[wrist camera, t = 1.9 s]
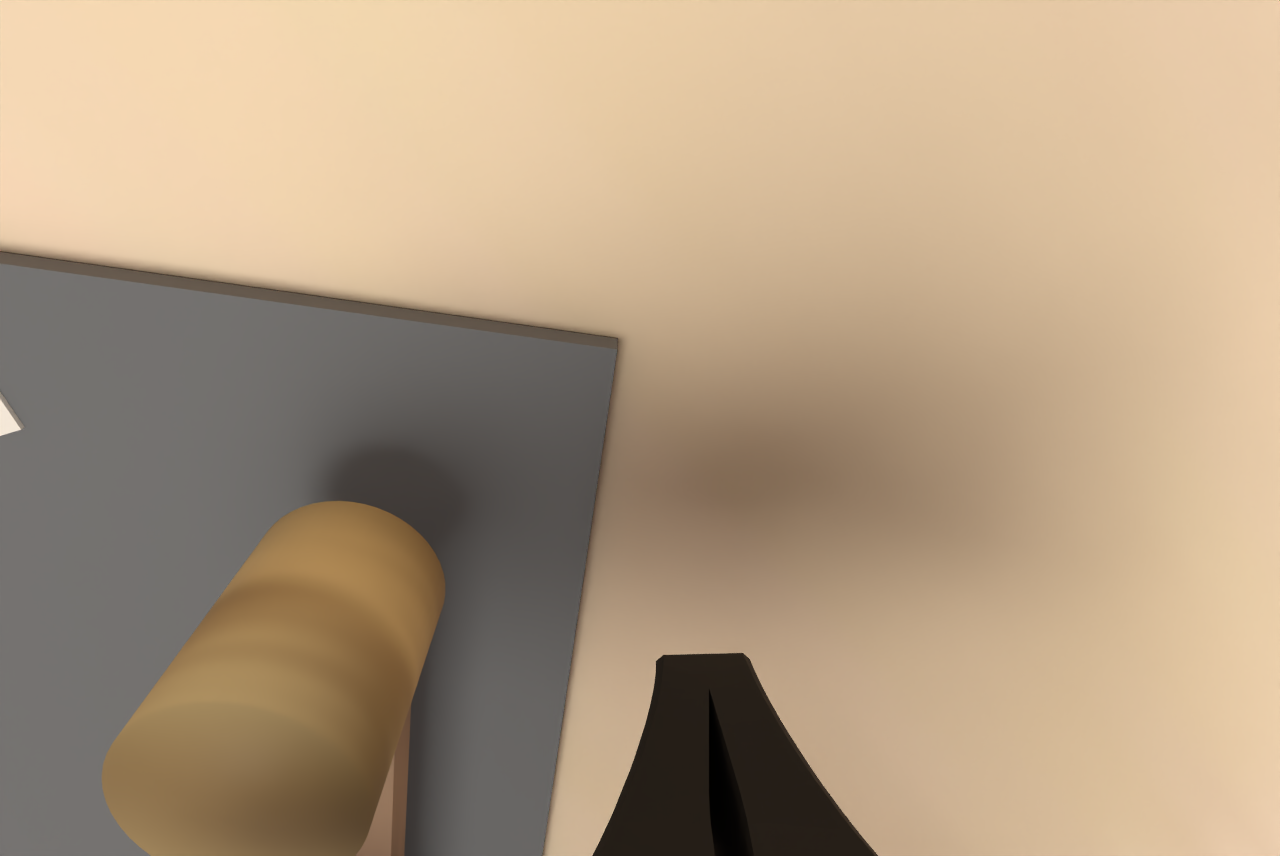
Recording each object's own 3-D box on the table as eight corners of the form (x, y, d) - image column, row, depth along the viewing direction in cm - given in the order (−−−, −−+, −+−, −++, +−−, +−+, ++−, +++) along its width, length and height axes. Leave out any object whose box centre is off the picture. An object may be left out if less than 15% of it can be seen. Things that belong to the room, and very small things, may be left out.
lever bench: (518, 1012, 24) (506, 1117, 22) (-171, 958, 23) (-263, 1064, 20) (617, 338, 15) (615, 393, 13) (-497, 182, 14) (-726, 211, 12)
